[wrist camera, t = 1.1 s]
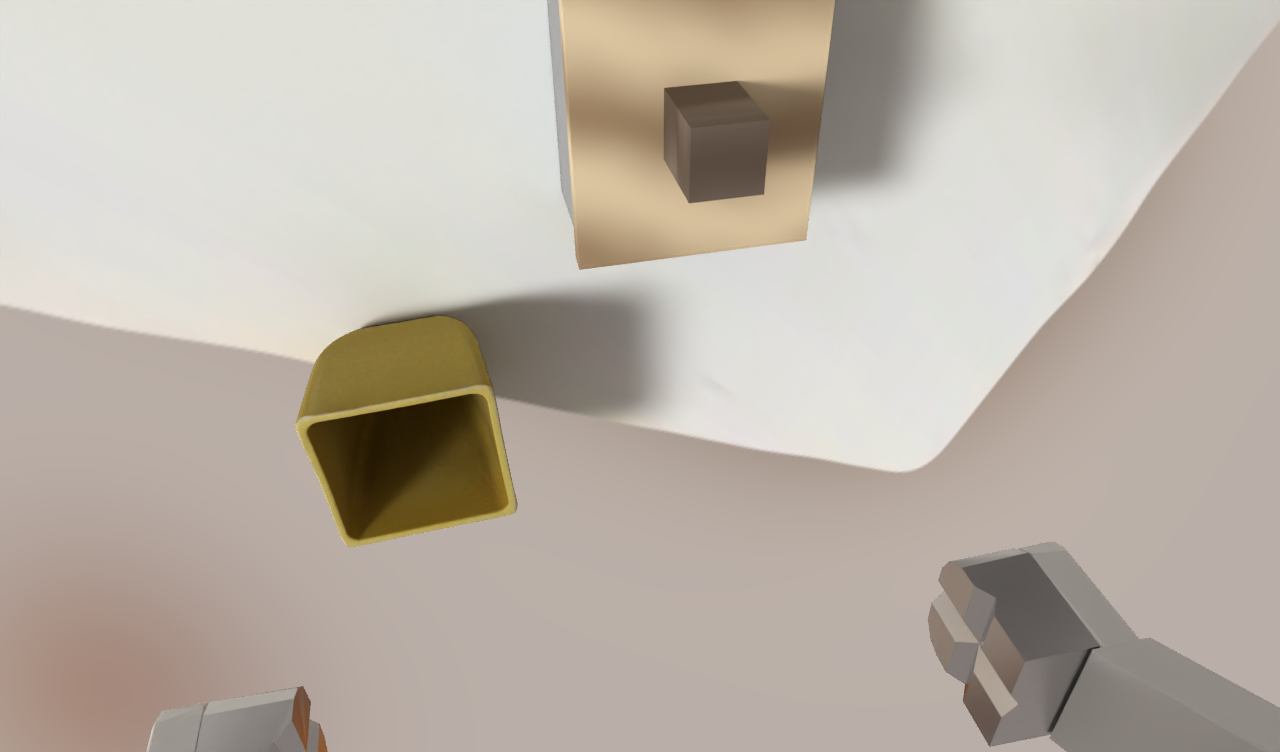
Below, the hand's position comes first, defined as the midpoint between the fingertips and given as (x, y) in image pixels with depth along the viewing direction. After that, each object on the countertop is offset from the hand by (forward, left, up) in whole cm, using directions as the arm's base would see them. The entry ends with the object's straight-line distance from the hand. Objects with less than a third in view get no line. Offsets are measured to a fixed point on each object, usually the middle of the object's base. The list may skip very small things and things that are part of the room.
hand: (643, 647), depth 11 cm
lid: (+5, +8, -29) cm, 30 cm away
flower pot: (+20, -6, -34) cm, 40 cm away
